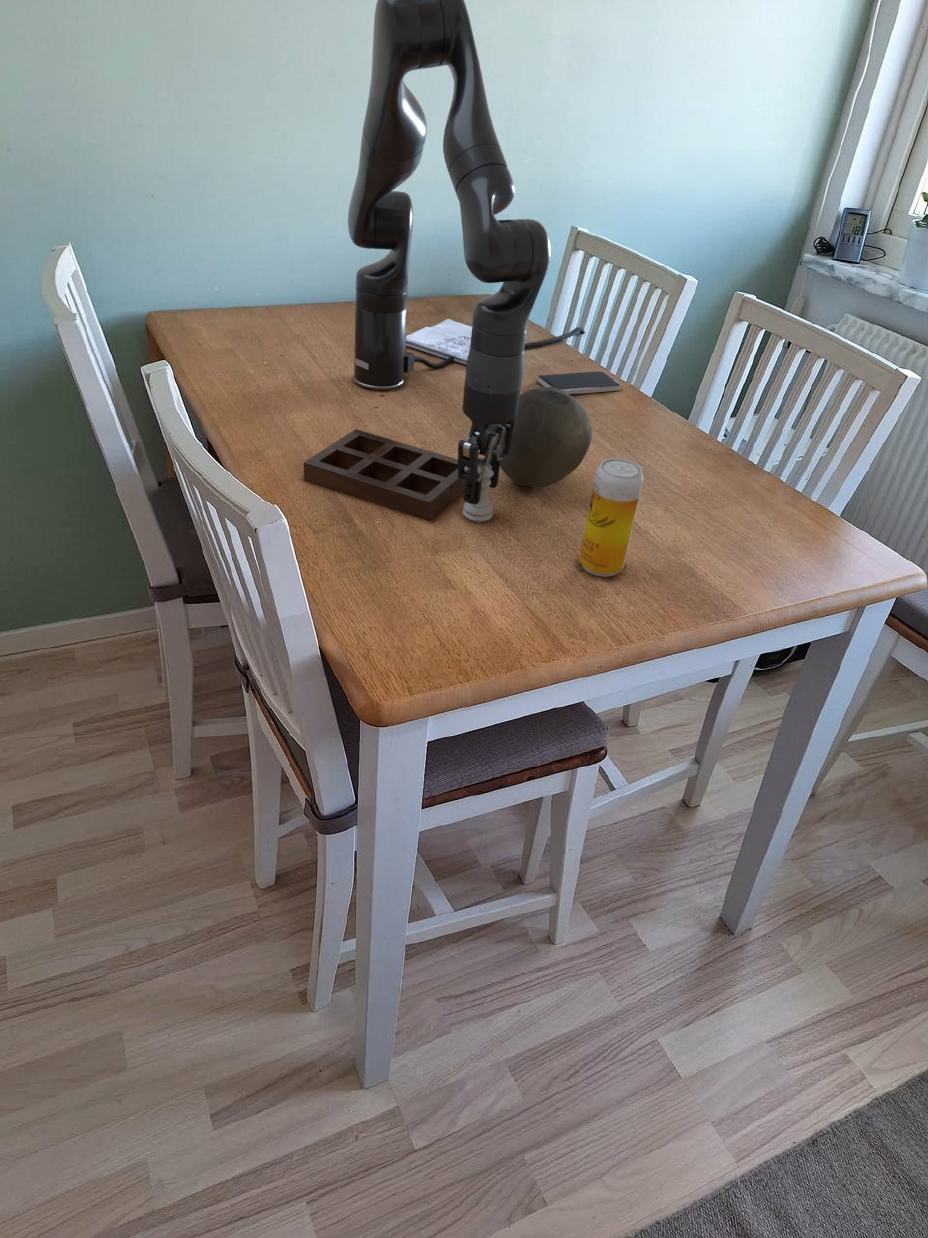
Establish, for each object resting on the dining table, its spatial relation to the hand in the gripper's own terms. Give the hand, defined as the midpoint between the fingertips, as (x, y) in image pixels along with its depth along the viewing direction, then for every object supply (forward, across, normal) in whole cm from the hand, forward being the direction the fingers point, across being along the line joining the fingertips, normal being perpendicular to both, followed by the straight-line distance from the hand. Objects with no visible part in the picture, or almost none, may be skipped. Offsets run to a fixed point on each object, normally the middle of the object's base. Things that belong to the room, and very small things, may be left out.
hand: (480, 493), depth 128 cm
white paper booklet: (+4, +65, +35) cm, 74 cm away
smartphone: (+4, +59, +6) cm, 60 cm away
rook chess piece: (+4, 0, 0) cm, 4 cm away
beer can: (+4, -3, -20) cm, 21 cm away
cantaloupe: (+4, +15, -3) cm, 16 cm away
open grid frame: (+4, +2, +16) cm, 17 cm away
